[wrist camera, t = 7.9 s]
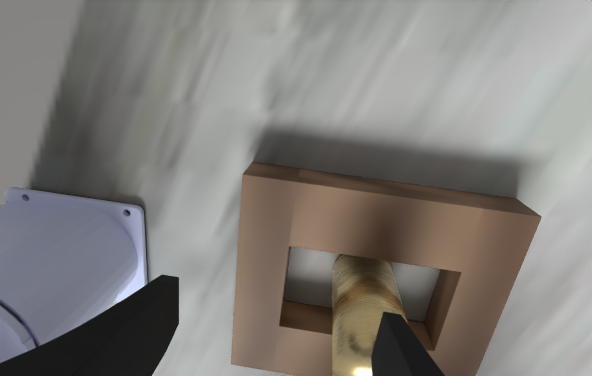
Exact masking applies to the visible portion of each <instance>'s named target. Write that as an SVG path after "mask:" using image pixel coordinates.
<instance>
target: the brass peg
mask: <svg viewBox="0 0 592 376" xmlns="http://www.w3.org/2000/svg"><path fill="white" fill-rule="evenodd" d="M383 311H384V312H390V313H396V314H401V315H402V316H403V318H404V319H405V320H406V322H407V318H406V315H405V311H404V308H403V305H402V301H401V298H400V294H399V291H398V288H397V284H396V281H395V277H394V274H393V271H392V267H391V264H390V262H389V261H385V260H378V259H371V258H365V257H358V256H351V255H345V254H341V255H340V256H339V257H338V258H337V260H336V261H335V263H334V265H333V270H332V376H372V365H371V355H372V351H373V347H374V344H375V340H376V336H377V333H378V329H379V325H380V322H381V318H382V314H383ZM407 323H408V322H407Z"/></svg>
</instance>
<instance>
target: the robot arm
mask: <svg viewBox="0 0 592 376" xmlns="http://www.w3.org/2000/svg"><path fill="white" fill-rule="evenodd" d="M27 196H28V197H29V198H28V197H27ZM5 197H6V202H7V203H5V204H3V205H0V376H152V374H153V373H154V371H155V369H156V368H157V366H158V364H159V362H160V361H161V359H162V357H163V356H164V354H165V352H166V350H167V348H168V346H169V344H170V342H171V340H172V338H173V335H174V333H175V331H176V328H177V326H178V324H179V277H173V276H167V275H161V276H159V277H157V278H156V279H154V280H153V281H151V282H150V283H148V284H147V264H146V244H145V224H144V211H143V209H142V208H141V207H140V206H137V205H131V204H125V203H118V202H111V201H104V200H98V199H91V198H84V197H77V196H71V195H64V194H57V193H51V192H44V191H37V190H30V189H24V188H17V187H11V188H9V189H7V190H6V191H5ZM126 210H129V211H130V214H128V213H127V211H126ZM114 301H116V302H119V303H117V304H116V305H114V306H112V307H111V308H109V309H108V310H106V309H107V308H108V307H109V306H110V305H111V304H112V303H113V302H114ZM371 365H372V376H445V375H444V374H443V372H442V371H441V370H440V368H439V367H438V366H437V364H436V363H435V362H434V360H433V359H432V358H431V356H430V355H429V353H428V352H427V351H426V349H425V348H424V346H423V345H422V344H421V342H420V341H419V339H418V338H417V336H416V335H415V334H414V332H413V331H412V329H411V328H410V326H409V325H408V323H407V322H406V320H405V319H404V318H403V316H402V315H401V314H396V313H390V312H384V311H383V314H382V318H381V322H380V325H379V329H378V333H377V336H376V340H375V344H374V347H373V351H372V355H371Z"/></svg>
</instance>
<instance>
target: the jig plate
mask: <svg viewBox="0 0 592 376" xmlns="http://www.w3.org/2000/svg"><path fill="white" fill-rule="evenodd" d="M540 220H541V216H540V215H538V214H537V213H535V212H534V211H533V210H531V209H530V208H529V207H527V206H526V205H524V204H523V203H522V202H520V201H519V200H517V199H513V198H505V197H498V196H491V195H484V194H477V193H470V192H462V191H455V190H448V189H441V188H434V187H427V186H420V185H412V184H405V183H398V182H391V181H384V180H377V179H370V178H362V177H355V176H348V175H341V174H334V173H327V172H320V171H312V170H305V169H298V168H291V167H284V166H277V165H270V164H262V163H255V162H252V163H251V165H250V166H249V167H248V169H247V170H246V171H245V172H244V174H243V178H242V194H241V210H240V226H239V242H238V258H237V273H236V289H235V305H234V321H233V337H232V353H231V364H232V365H238V366H244V367H250V368H256V369H262V370H267V371H273V372H279V373H285V374H291V375H297V376H332V308H326V307H320V306H313V305H307V304H301V303H294V302H288V301H284V296H285V288H286V280H287V272H288V264H289V256H290V249H291V246H292V247H299V248H305V249H312V250H318V251H325V252H332V253H338V254H345V255H351V256H358V257H365V258H371V259H378V260H385V261H391V262H398V263H404V264H411V265H418V266H424V267H431V268H438V269H441V271H440V274H439V278H438V281H437V284H436V287H435V290H434V293H433V296H432V299H431V303H430V306H429V309H428V312H427V315H426V318H425V321H424V323H420V322H414V321H408V320H407V322H408V325H409V326H410V328H411V329H412V331H413V332H414V334H415V335H416V336H417V338H418V339H419V341H420V342H421V344H422V345H423V346H424V348H425V349H426V351H427V352H428V353H429V355H430V356H431V358H432V359H433V360H434V362H435V363H436V364H437V366H438V367H439V368H440V370H441V371H442V372H443V374H444V375H445V376H475V375H476V373H477V371H478V368H479V366H480V363H481V361H482V359H483V356H484V354H485V352H486V349H487V347H488V344H489V342H490V340H491V337H492V335H493V332H494V330H495V328H496V325H497V323H498V320H499V318H500V316H501V313H502V311H503V308H504V306H505V304H506V301H507V299H508V296H509V294H510V292H511V289H512V287H513V284H514V282H515V280H516V277H517V275H518V273H519V270H520V268H521V265H522V263H523V261H524V258H525V256H526V253H527V251H528V249H529V246H530V244H531V241H532V239H533V237H534V234H535V232H536V229H537V227H538V225H539V222H540Z"/></svg>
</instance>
